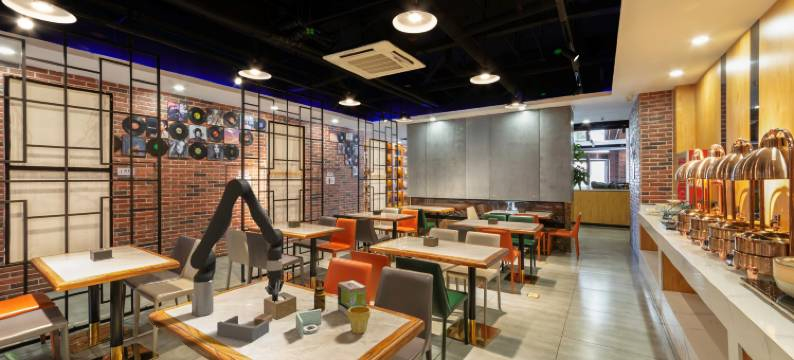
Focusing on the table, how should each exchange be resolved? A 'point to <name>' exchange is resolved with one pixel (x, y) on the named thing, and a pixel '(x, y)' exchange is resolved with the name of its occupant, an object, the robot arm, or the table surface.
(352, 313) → the plant pot
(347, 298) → the tea box
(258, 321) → the walnut tile
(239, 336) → the box
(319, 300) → the condiment
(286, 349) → the table surface
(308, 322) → the right angle wall
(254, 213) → the robot arm
